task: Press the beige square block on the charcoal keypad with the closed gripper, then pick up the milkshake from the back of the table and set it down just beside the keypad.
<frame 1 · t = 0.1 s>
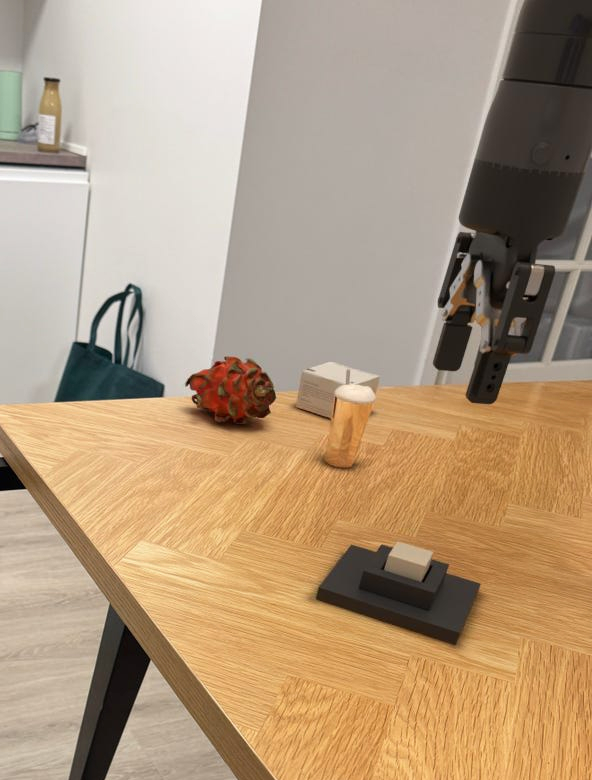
hand: (461, 385, 72), 18 cm above the table, tool pointing down, fingers open, 8 cm apart
beige square block: (408, 562, 77), point 3 cm above the table, slide at 0.1 cm
milkshake: (336, 462, 105), on the table
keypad: (397, 596, 78), on the table
small box: (332, 411, 120), on the table
dragon fruit: (225, 421, 113), on the table
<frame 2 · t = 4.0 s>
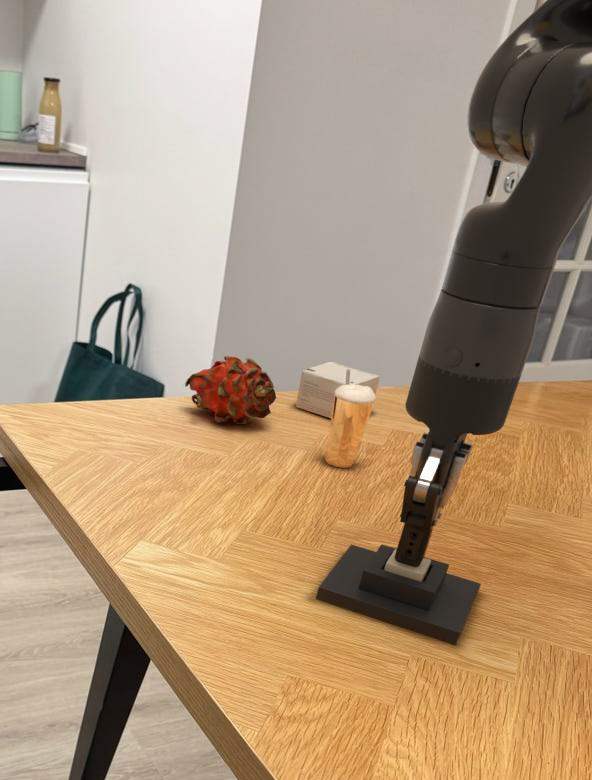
hand: (408, 561, 76), 4 cm above the table, tool pointing down, fingers closed
beige square block: (406, 569, 77), point 3 cm above the table, slide at -0.7 cm, touching gripper
everything else where it was.
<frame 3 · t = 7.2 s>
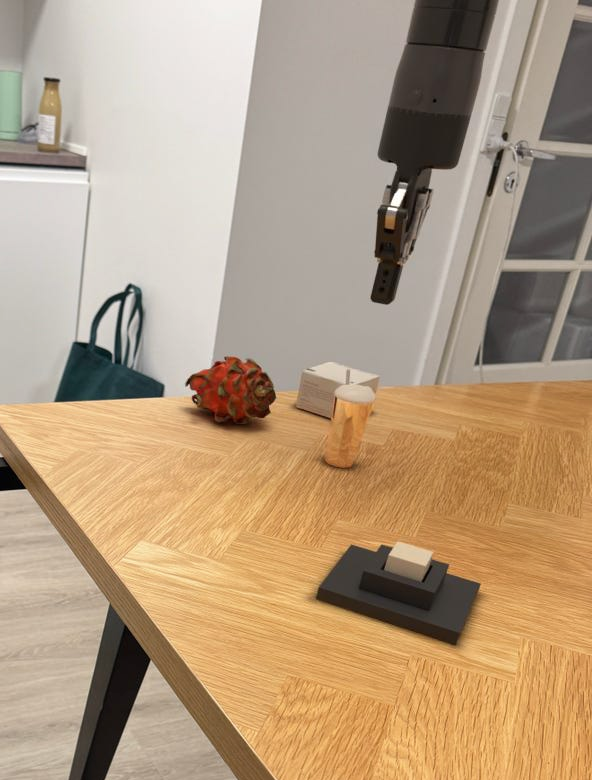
hand: (381, 302, 91), 19 cm above the table, tool pointing down, fingers closed
beige square block: (408, 562, 77), point 3 cm above the table, slide at 0.1 cm
everything else where it was.
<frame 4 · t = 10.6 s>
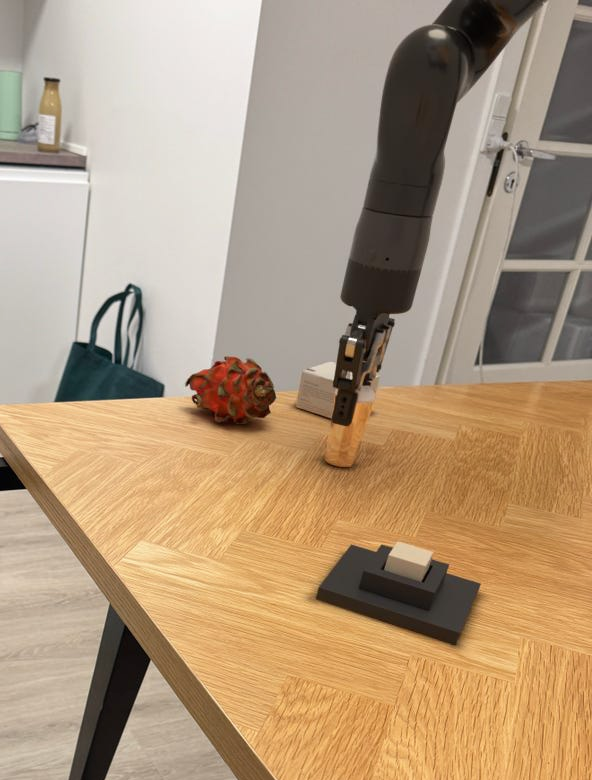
hand: (347, 417, 102), 5 cm above the table, tool pointing down, fingers closed on milkshake, 4 cm apart
milkshake: (337, 462, 105), on the table, touching gripper
everything else where it was.
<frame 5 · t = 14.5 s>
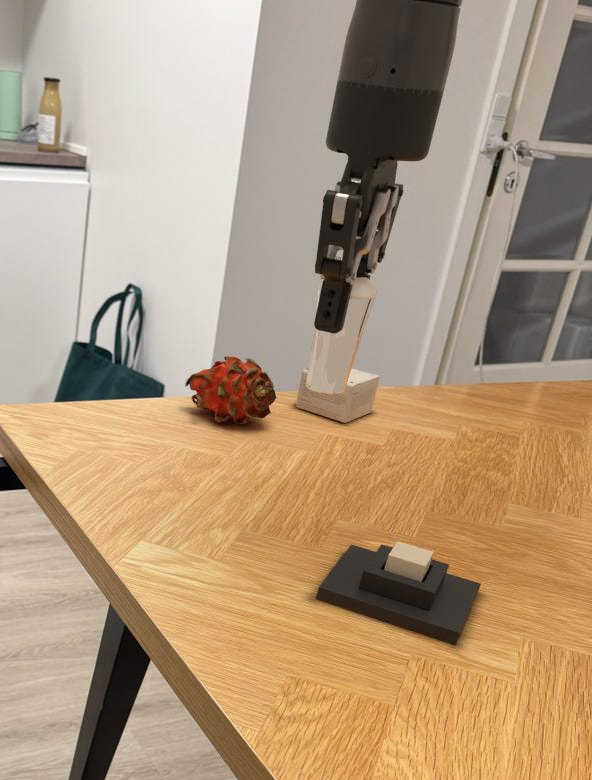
hand: (337, 324, 73), 21 cm above the table, tool pointing down, fingers closed on milkshake, 4 cm apart
milkshake: (322, 390, 76), point 15 cm above the table, touching gripper
everything else where it was.
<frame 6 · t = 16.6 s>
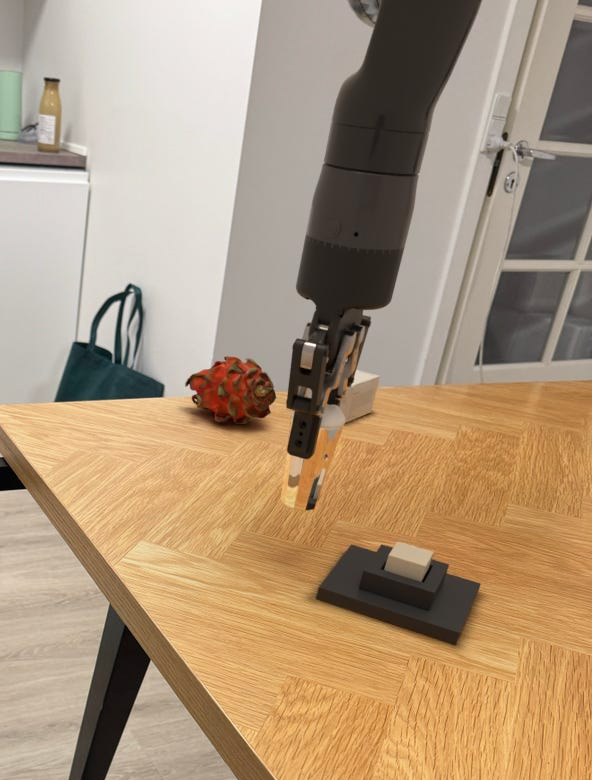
hand: (309, 446, 77), 11 cm above the table, tool pointing down, fingers closed on milkshake, 4 cm apart
milkshake: (296, 503, 80), point 5 cm above the table, touching gripper
everything else where it was.
when the fingers open (5 cm above the table, at t = 18.4 s): milkshake stays where it is, on the table.
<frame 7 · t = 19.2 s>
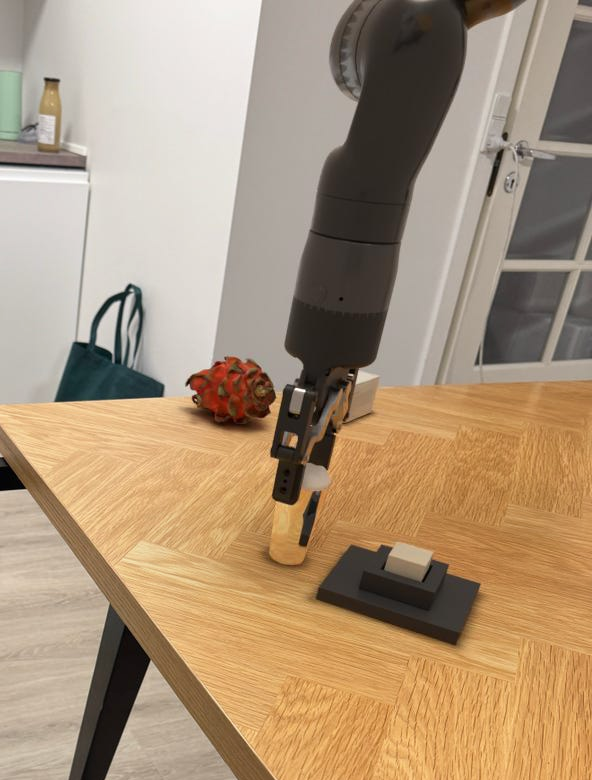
hand: (300, 485, 79), 7 cm above the table, tool pointing down, fingers open, 8 cm apart
milkshake: (284, 556, 83), on the table
everything else where it was.
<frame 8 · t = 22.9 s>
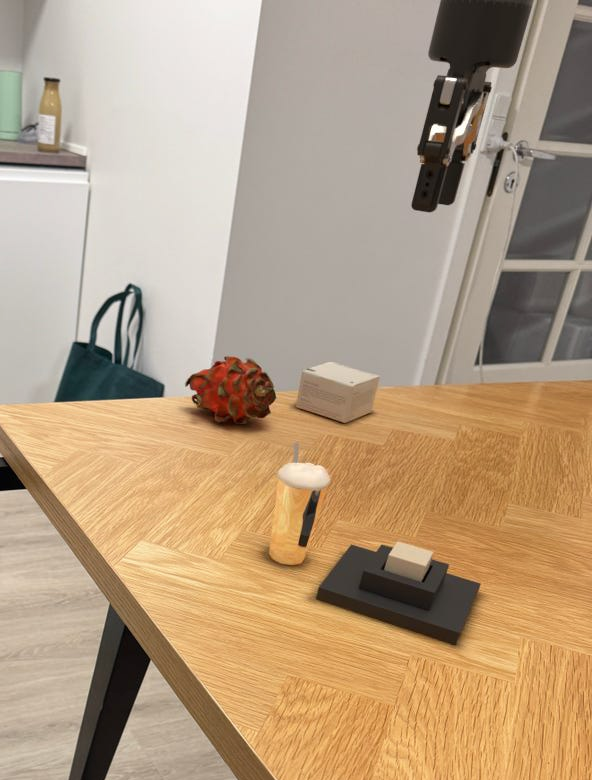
hand: (432, 207, 85), 28 cm above the table, tool pointing down, fingers open, 8 cm apart
nothing on the table moved.
at the end: beige square block pushed in 1.1 cm at the most during the clip, back to where it started at the end; beige square block slide at 0.1 cm; milkshake inside the target area on the table beside the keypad (0.5 cm from its centre), on the table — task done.
